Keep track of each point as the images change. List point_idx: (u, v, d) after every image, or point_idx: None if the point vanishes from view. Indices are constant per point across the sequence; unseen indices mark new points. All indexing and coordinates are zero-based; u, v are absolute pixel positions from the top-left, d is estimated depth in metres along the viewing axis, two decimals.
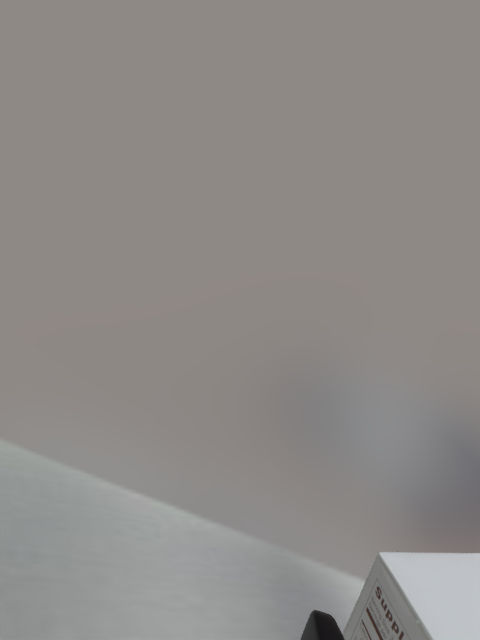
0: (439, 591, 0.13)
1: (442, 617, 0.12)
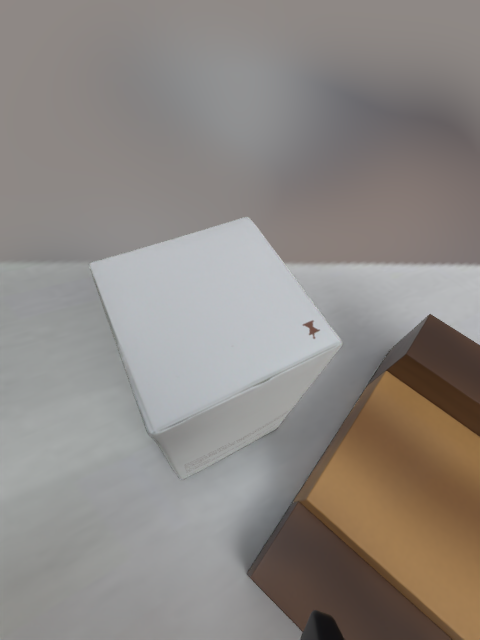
0: (146, 280, 0.12)
1: (136, 305, 0.12)
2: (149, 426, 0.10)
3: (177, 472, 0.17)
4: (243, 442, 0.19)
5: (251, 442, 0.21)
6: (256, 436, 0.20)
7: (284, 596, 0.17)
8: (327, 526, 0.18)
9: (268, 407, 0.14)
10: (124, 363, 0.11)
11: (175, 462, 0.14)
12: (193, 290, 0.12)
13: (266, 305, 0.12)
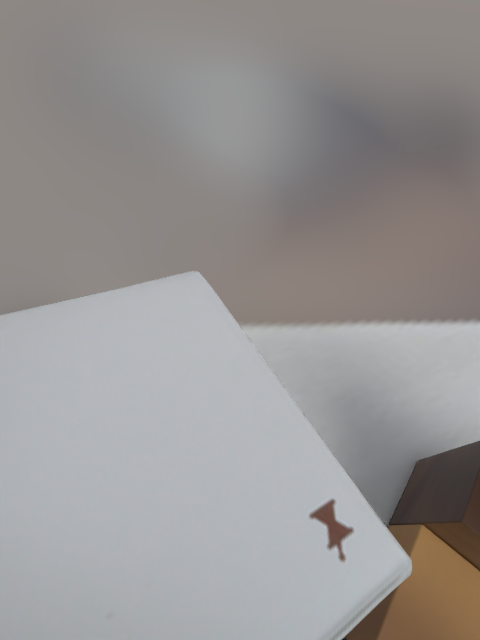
0: None
1: None
2: None
3: None
4: None
5: None
6: None
7: None
8: None
9: None
10: None
11: None
12: (43, 425, 0.05)
13: (220, 459, 0.05)
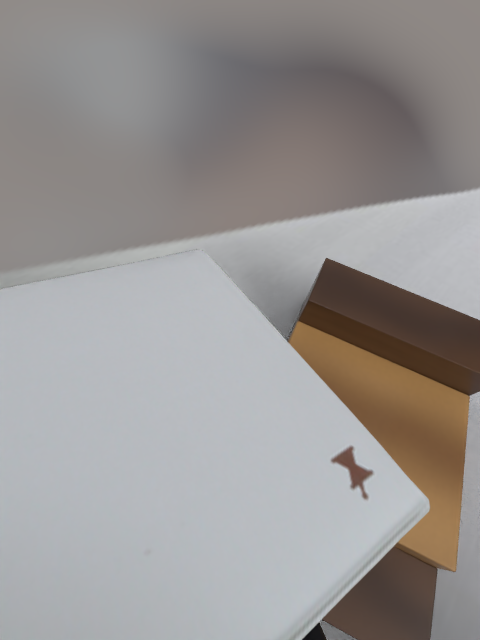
0: None
1: None
2: None
3: None
4: None
5: None
6: None
7: None
8: None
9: None
10: None
11: None
12: (64, 384, 0.05)
13: (241, 412, 0.05)
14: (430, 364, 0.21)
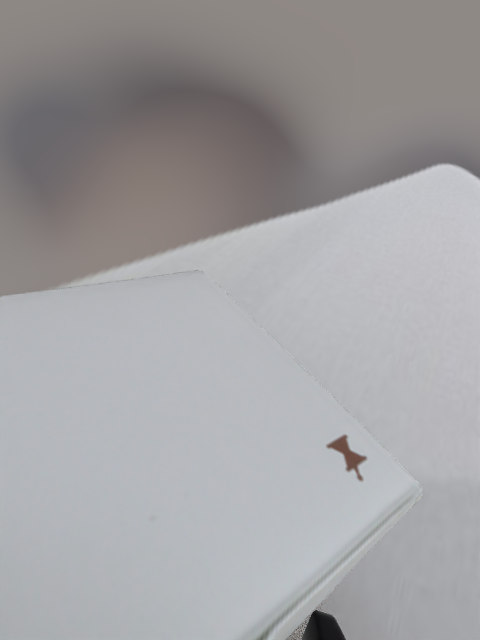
0: None
1: None
2: None
3: None
4: None
5: None
6: None
7: None
8: None
9: None
10: None
11: None
12: (73, 372, 0.05)
13: (240, 403, 0.05)
14: None
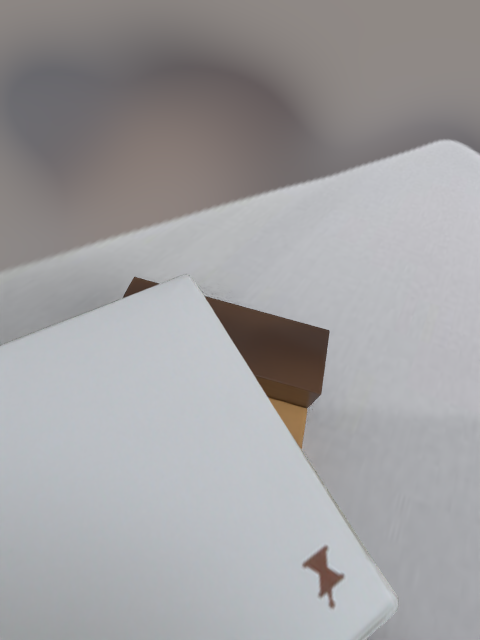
0: None
1: None
2: None
3: None
4: None
5: None
6: None
7: None
8: None
9: None
10: None
11: None
12: (41, 486, 0.05)
13: (215, 511, 0.05)
14: None
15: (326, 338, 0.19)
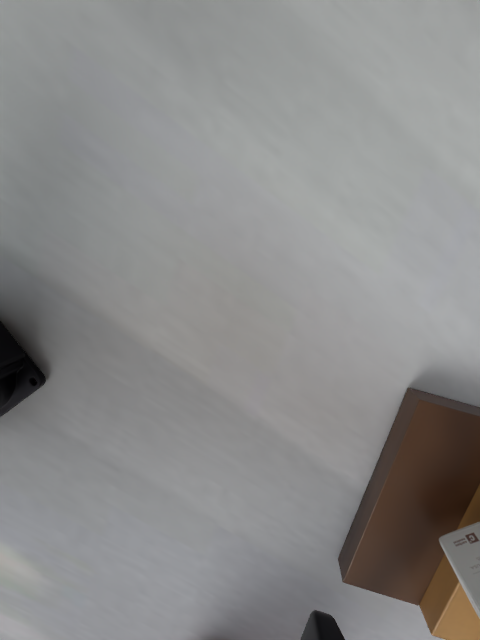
0: None
1: None
2: None
3: None
4: None
5: None
6: None
7: (416, 434, 0.17)
8: None
9: None
10: None
11: None
12: None
13: None
14: None
15: None
